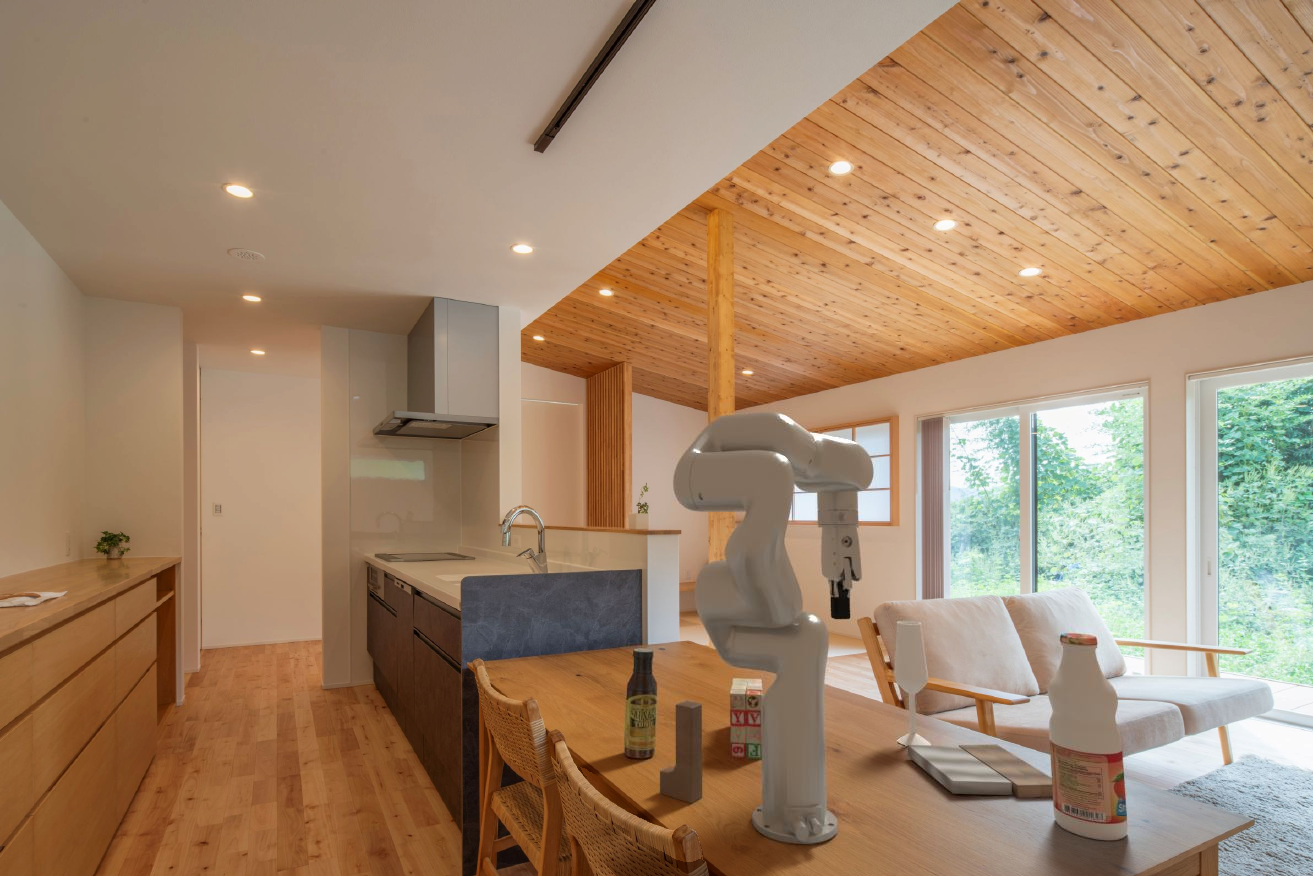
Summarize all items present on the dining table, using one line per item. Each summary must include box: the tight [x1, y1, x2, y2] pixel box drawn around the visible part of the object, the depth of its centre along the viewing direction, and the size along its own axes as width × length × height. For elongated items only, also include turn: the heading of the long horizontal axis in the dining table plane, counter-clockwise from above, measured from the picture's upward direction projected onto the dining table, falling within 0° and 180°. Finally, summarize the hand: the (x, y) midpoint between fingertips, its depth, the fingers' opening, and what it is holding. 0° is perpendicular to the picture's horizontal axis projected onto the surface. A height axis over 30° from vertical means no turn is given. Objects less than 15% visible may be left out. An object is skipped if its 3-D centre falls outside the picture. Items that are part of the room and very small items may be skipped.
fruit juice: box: [1047, 632, 1128, 841], centre depth 105 cm, size 9×9×28 cm
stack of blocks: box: [729, 677, 764, 760], centre depth 143 cm, size 21×6×12 cm, turn 171°
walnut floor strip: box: [958, 743, 1053, 799], centre depth 124 cm, size 20×8×2 cm, turn 3°
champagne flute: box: [893, 620, 932, 747], centre depth 143 cm, size 7×7×24 cm
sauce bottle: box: [623, 647, 658, 760], centre depth 135 cm, size 7×6×20 cm
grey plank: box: [907, 745, 1013, 796], centre depth 124 cm, size 18×10×2 cm, turn 3°
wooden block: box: [659, 700, 703, 804], centre depth 116 cm, size 7×3×15 cm, turn 53°
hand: (840, 618), depth 129 cm, fingers closed
